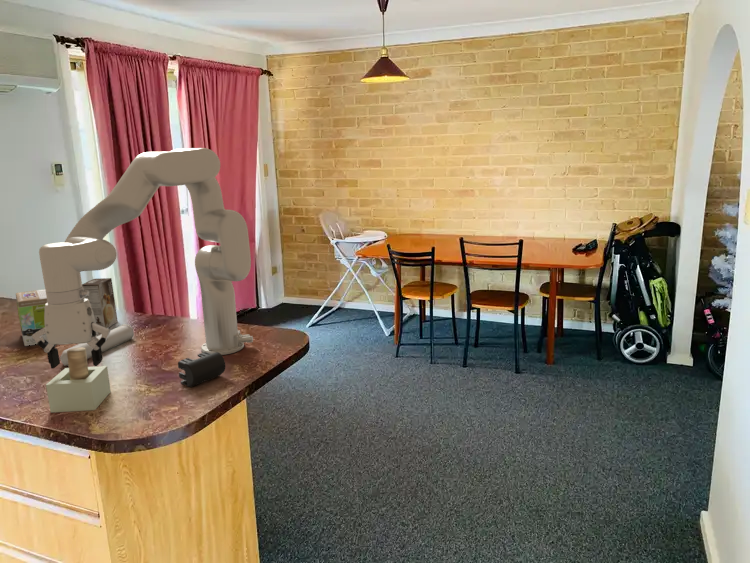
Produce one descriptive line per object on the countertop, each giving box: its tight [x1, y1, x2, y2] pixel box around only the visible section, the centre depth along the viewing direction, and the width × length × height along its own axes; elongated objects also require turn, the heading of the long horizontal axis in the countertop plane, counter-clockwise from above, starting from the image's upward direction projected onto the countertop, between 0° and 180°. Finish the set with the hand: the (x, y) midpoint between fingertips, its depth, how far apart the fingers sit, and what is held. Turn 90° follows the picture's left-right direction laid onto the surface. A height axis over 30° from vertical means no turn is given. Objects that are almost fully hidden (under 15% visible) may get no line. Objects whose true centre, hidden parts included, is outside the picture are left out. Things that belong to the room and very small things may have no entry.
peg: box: [67, 347, 89, 380], centre depth 134 cm, size 4×4×12 cm
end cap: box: [177, 352, 226, 388], centre depth 146 cm, size 10×7×7 cm
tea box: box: [15, 288, 48, 347], centre depth 182 cm, size 15×10×15 cm
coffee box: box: [82, 277, 119, 329], centre depth 192 cm, size 9×6×16 cm
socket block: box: [45, 365, 112, 413], centre depth 135 cm, size 10×10×7 cm
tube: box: [59, 323, 135, 367], centre depth 168 cm, size 5×5×25 cm
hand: (76, 365), depth 133 cm, fingers open, 9 cm apart
